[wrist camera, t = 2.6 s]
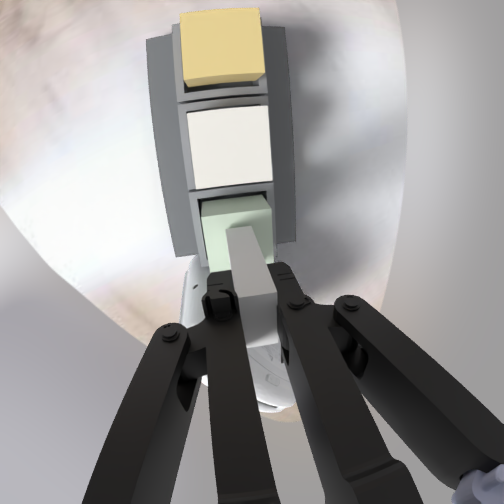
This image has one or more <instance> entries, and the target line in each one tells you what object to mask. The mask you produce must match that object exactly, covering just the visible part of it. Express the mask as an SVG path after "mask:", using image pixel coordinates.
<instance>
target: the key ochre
mask: <svg viewBox="0 0 504 504" xmlns="http://www.w3.org/2000/svg"><path fill="white" fill-rule="evenodd" d="M180 32H181V50H182V64H183V77H184V81H185V83H186V84H187V86H188V87H193V86H201V85H209V84H218V83H229V82H242V81H256V80H257V79H258V78H259V77H261V76H262V75H263V74H264V73H265V66H264V54H263V43H262V33H261V23H260V13H259V8H228V9H214V10H203V11H195V12H187V13H181V14H180Z"/></svg>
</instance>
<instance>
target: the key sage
mask: <svg viewBox="0 0 504 504" xmlns="http://www.w3.org/2000/svg"><path fill="white" fill-rule="evenodd" d="M201 220H202V226H203V232H204V239H205V245H206V251H207V257H208V263H209V268H210V273H211V272H218V271H225V270H230V262H229V255H228V247H227V239H226V231H225V229H229V228H237V227H245V226H252V229H253V231H254V234H255V236H256V239H257V241H258V244H259V247H260V249H261V252H262V254H263V257H264V259H265V262H266V264H270V263H274V254H273V231H272V210H271V207H270V206H269V204H268V203H267V201H266V200H265V198H264V197H263V195H254V196H245V197H236V198H228V199H220V200H213V201H205V202H202V212H201Z"/></svg>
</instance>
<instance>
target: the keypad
mask: <svg viewBox="0 0 504 504" xmlns="http://www.w3.org/2000/svg"><path fill="white" fill-rule="evenodd" d="M260 23H261V33H262V43H263V54H264V66H265V73H264V74H263V75H262V76H261V77H259V78H258V79H257V80H256V81H242V82H229V83H218V84H209V85H201V86H193V87H188V86H187V84H186V83H185V81H184V77H183V64H182V50H181V32H180V24H174V25H172V34H170V35H164V36H159V37H155V38H150V39H146V51H147V69H148V83H149V94H150V105H151V114H152V123H153V131H154V139H155V146H156V153H157V160H158V167H159V173H160V179H161V185H162V191H163V197H164V202H165V208H166V213H167V218H168V223H169V228H170V233H171V237H172V242H173V247H174V251H175V256H176V257H182V256H189V255H196V254H199V258H200V263H201V267H206V266H209V263H208V257H207V251H206V245H205V239H204V232H203V226H202V220H201V212H202V202H205V201H213V200H220V199H228V198H236V197H245V196H254V195H263V197H264V198H265V200H266V201H267V203H268V204H269V206H270V207H271V210H272V231H273V254H274V257H277V249H276V244H279V243H286V242H294V241H296V220H295V174H294V148H293V127H292V110H291V95H290V82H289V69H288V58H287V47H286V38H285V28H284V27H264V26H262V22H261V17H260ZM252 106H268V117H269V132H270V148H271V164H272V181H262V182H252V183H243V184H234V185H226V186H218V187H210V188H203V189H196V185H195V178H194V171H193V163H192V155H191V147H190V138H189V129H188V120H187V113H193V112H201V111H208V110H217V109H227V108H238V107H252Z"/></svg>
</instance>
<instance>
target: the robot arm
mask: <svg viewBox="0 0 504 504" xmlns="http://www.w3.org/2000/svg"><path fill="white" fill-rule="evenodd" d="M225 231H226V239H227V247H228V255H229V262H230V270H225V271H218V272H211V273H210V275H209V276H208V278H207V292H206V293H205V294H204V295H203V296H202V300H201V302H202V306H203V311H204V315H205V318H204V320H203V321H201V322H200V323H199V324H197V325H195V326H192V327H189V328H186V327H185V326H183V325H182V324H179V323H168V324H165V325H163V326H161V327H160V328H158V329H157V330H156V332H155V333H154V335H153V337H152V339H151V341H150V343H149V345H148V347H147V349H146V351H145V353H144V355H143V357H142V359H141V361H140V363H139V366H138V368H137V370H136V372H135V374H134V376H133V378H132V381H131V383H130V385H129V387H128V389H127V392H126V394H125V396H124V398H123V400H122V403H121V405H120V407H119V409H118V412H117V414H116V416H115V419H114V421H113V424H112V426H111V428H110V431H109V433H108V435H107V438H106V440H105V443H104V445H103V448H102V450H101V453H100V455H99V458H98V460H97V463H96V466H95V468H94V471H93V473H92V476H91V479H90V482H89V485H88V487H87V490H86V493H85V496H84V499H83V501H82V504H170V502H171V497H172V493H173V489H174V485H175V481H176V477H177V472H178V469H179V465H180V461H181V457H182V453H183V449H184V445H185V441H186V438H187V434H188V430H189V426H190V422H191V418H192V415H193V411H194V407H195V403H196V399H197V395H198V392H199V388H200V384H201V381H202V376H205V375H207V379H208V396H209V411H210V424H211V436H212V447H213V458H214V467H215V476H216V485H217V493H218V504H281V503H280V499H279V497H278V493H277V489H276V485H275V481H274V476H273V472H272V467H271V463H270V458H269V454H268V450H267V445H266V441H265V436H264V431H263V427H262V422H261V417H260V412H259V407H258V403H257V398H256V393H255V388H254V383H253V378H252V373H251V368H250V363H249V358H248V352H247V348H251V347H257V346H263V345H269V344H275V343H278V336H279V339H280V342H281V363H284V364H285V367H286V370H287V373H288V377H289V380H290V383H291V386H292V390H293V393H294V396H295V399H296V403H297V406H298V409H299V412H300V416H301V419H302V422H303V425H304V429H305V432H306V435H307V438H308V442H309V445H310V448H311V451H312V454H313V458H314V461H315V464H316V467H317V471H318V473H319V477H320V480H321V483H322V487H323V489H324V493H325V504H423V501H422V499H421V497H420V494H419V492H418V490H417V487H416V485H415V483H414V481H413V479H412V476H411V474H410V472H409V470H408V469H407V467H406V465H405V464H404V463H402V462H401V461H399V460H396V459H394V458H393V457H392V456H391V455H390V453H389V451H388V449H387V447H386V444H385V442H384V440H383V438H382V436H381V434H380V432H379V429H378V427H377V425H376V423H375V421H374V419H373V417H372V415H371V413H370V411H369V409H368V406H367V405H366V402H365V401H364V398H363V396H364V397H365V398H366V399H367V400H368V401H369V402H370V404H371V405H372V406H373V407H374V408H375V409H376V410H377V412H378V413H379V414H380V415H381V416H382V417H383V419H384V420H385V421H386V422H387V423H388V424H389V425H390V426H391V428H392V429H393V430H394V431H395V432H396V433H397V434H398V436H399V437H400V438H401V439H402V440H403V441H404V442H405V444H406V445H407V446H408V447H409V448H410V449H411V450H412V452H413V453H414V454H415V455H416V456H417V457H418V458H419V459H420V461H421V462H422V463H423V464H424V465H425V466H426V467H427V468H428V470H429V471H430V472H431V473H432V474H433V475H434V476H435V477H436V478H437V479H438V480H440V481H441V482H442V483H444V484H445V485H446V486H448V487H450V488H452V489H454V490H456V491H455V493H454V494H453V496H452V503H453V504H504V424H502V423H501V422H500V421H499V420H498V419H497V418H496V417H495V416H494V415H493V414H492V413H491V412H490V411H489V410H488V409H487V408H486V407H485V406H484V405H483V404H482V403H481V402H480V401H479V400H478V399H476V397H474V396H473V395H472V394H471V393H470V392H469V391H468V390H467V389H466V388H465V387H464V386H463V385H462V384H461V383H459V382H458V381H457V380H456V379H455V378H454V377H453V376H452V375H450V374H449V373H448V372H447V371H446V370H445V369H444V368H443V367H442V366H441V365H440V364H438V363H437V362H436V361H435V360H434V359H433V358H432V357H431V356H429V355H428V354H427V353H426V352H425V351H423V350H422V349H421V348H420V347H419V346H418V345H417V344H416V343H415V342H413V341H412V340H411V339H410V338H409V337H408V336H406V335H405V334H404V333H403V332H402V331H401V330H399V329H398V328H397V327H396V326H395V325H394V324H392V323H391V322H390V321H389V320H388V319H386V318H385V317H384V316H383V315H382V314H380V313H379V312H378V311H377V310H376V309H374V308H373V307H372V306H371V305H370V304H368V303H367V302H366V301H365V300H364V299H362V298H360V297H358V296H354V295H344V296H341V297H339V298H337V299H336V301H335V303H334V305H321V304H316V303H314V301H313V300H312V299H311V298H310V297H309V296H307V295H304V293H303V291H302V290H301V288H300V286H299V284H298V282H297V280H296V278H295V276H294V274H293V272H292V270H291V268H290V267H289V266H288V265H287V264H285V263H284V262H277V263H270V264H266V262H265V259H264V257H263V254H262V252H261V249H260V247H259V244H258V241H257V239H256V236H255V234H254V231H253V229H252V226H245V227H237V228H229V229H225ZM361 393H362V394H363V396H362V394H361Z"/></svg>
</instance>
